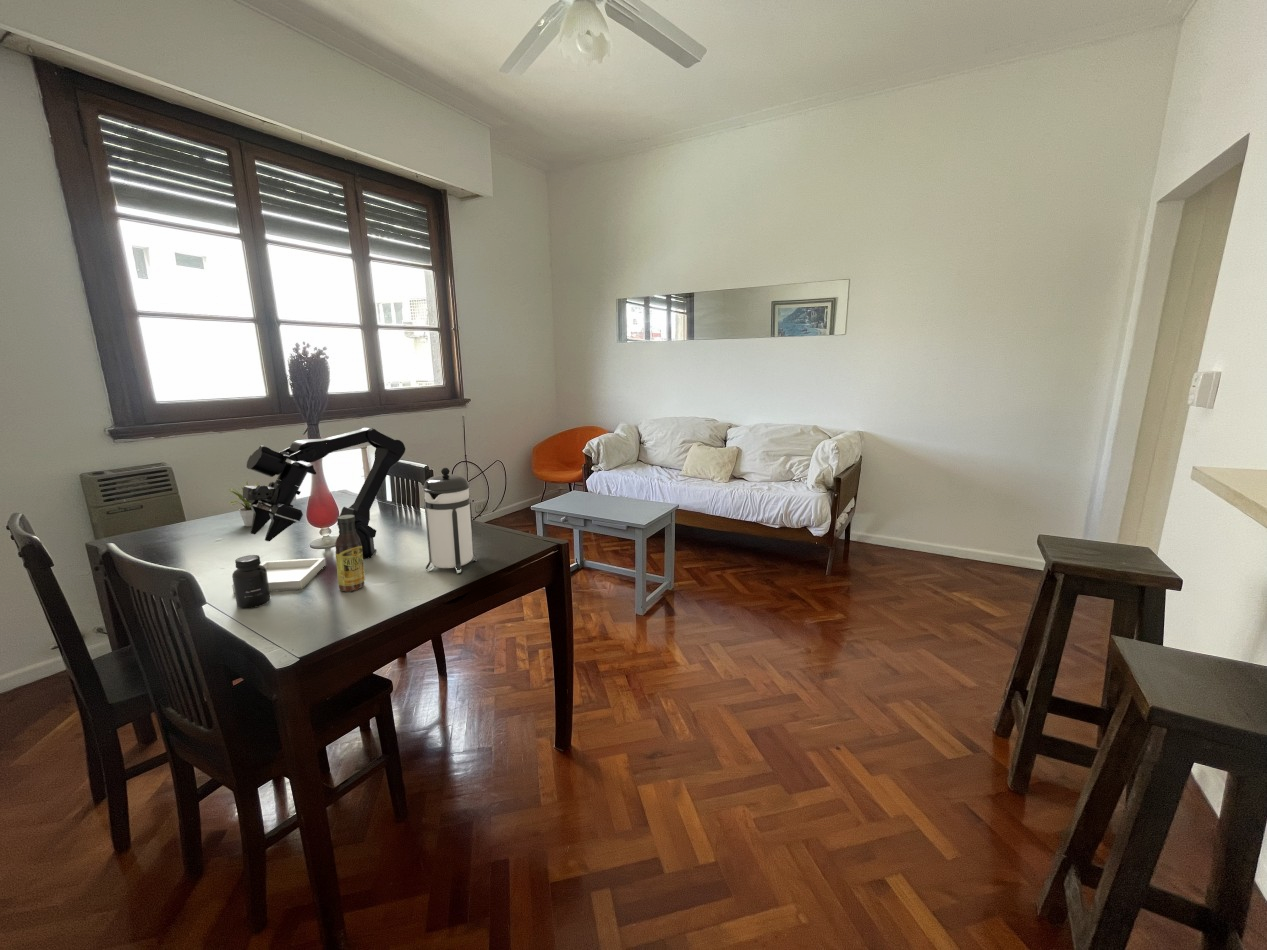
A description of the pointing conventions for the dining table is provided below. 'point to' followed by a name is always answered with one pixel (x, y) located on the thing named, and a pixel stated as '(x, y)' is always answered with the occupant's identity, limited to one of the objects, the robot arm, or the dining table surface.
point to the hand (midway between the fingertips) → (259, 537)
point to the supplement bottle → (250, 582)
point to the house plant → (245, 507)
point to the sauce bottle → (349, 555)
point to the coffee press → (448, 520)
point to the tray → (291, 573)
